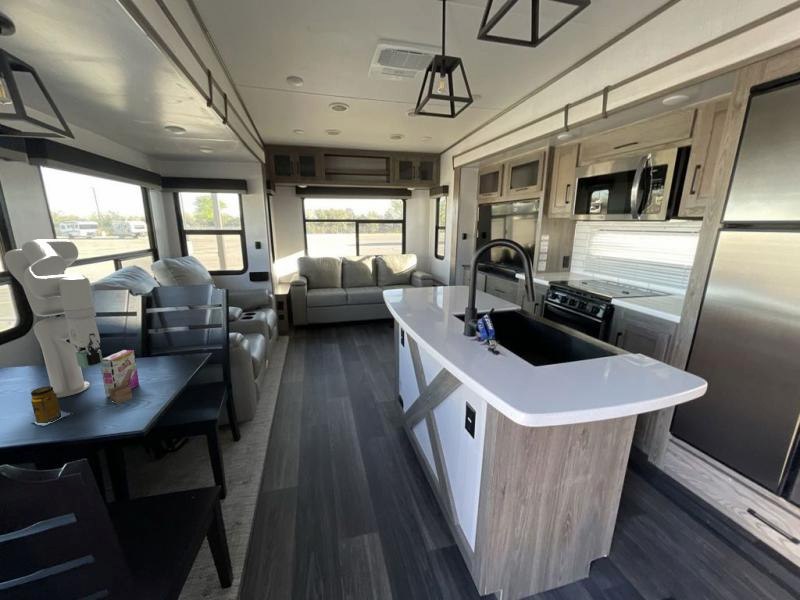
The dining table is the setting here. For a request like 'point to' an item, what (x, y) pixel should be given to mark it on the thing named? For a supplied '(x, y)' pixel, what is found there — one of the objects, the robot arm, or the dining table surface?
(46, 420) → the condiment
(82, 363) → the green cube
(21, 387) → the dining table surface
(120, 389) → the walnut block
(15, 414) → the dining table surface
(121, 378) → the candy bar box
